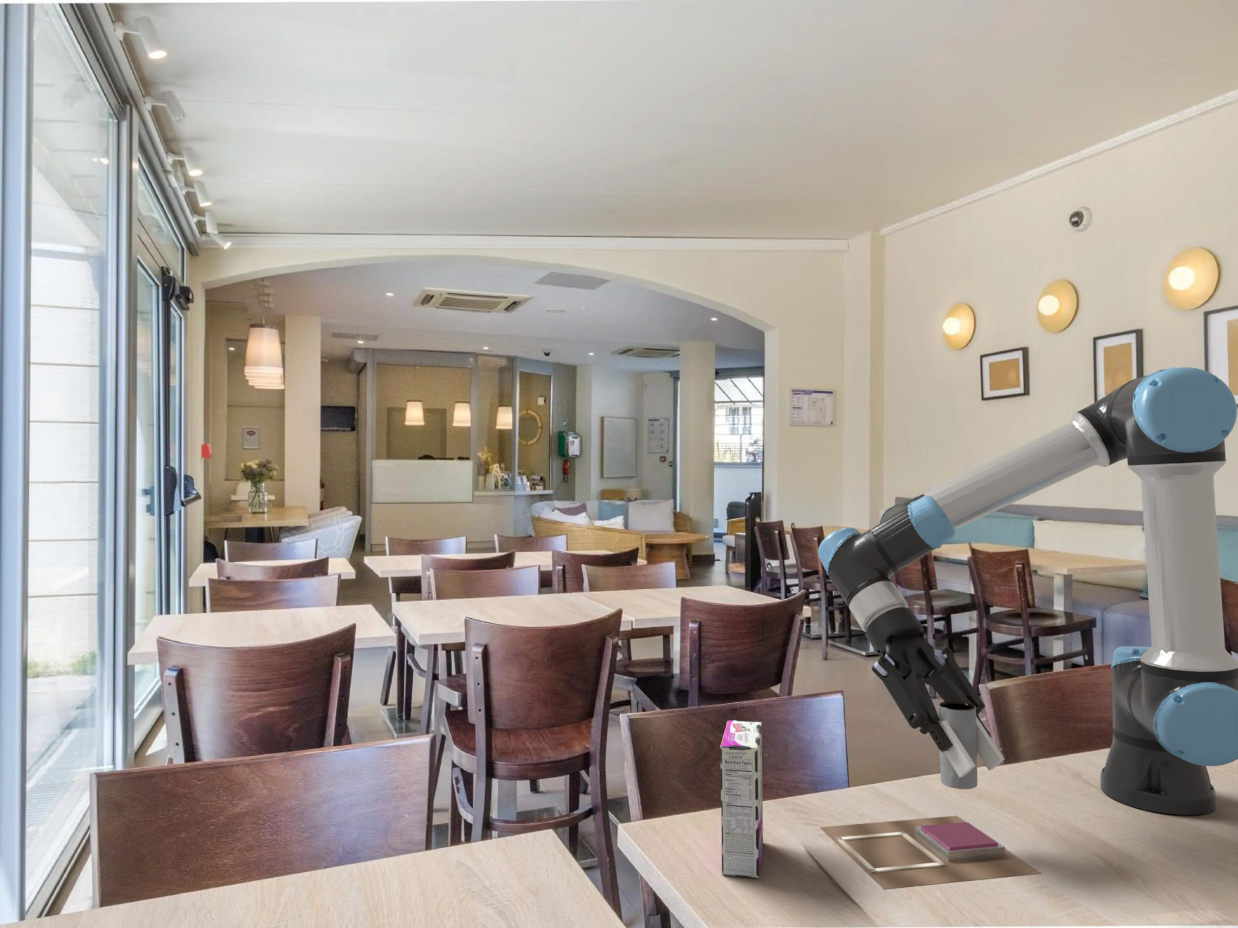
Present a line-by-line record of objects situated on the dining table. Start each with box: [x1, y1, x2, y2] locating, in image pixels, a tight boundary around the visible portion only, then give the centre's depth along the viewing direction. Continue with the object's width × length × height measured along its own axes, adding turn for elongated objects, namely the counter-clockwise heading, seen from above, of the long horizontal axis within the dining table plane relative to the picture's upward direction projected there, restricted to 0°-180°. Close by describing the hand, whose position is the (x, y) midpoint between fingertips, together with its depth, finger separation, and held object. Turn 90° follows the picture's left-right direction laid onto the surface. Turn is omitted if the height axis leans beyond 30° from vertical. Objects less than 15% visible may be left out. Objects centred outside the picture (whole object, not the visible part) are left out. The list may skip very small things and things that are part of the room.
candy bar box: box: [719, 720, 764, 879], centre depth 112 cm, size 11×5×16 cm, turn 168°
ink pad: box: [915, 821, 1006, 862], centre depth 114 cm, size 8×8×2 cm
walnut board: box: [819, 815, 1043, 890], centre depth 113 cm, size 21×18×1 cm
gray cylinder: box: [938, 701, 978, 790], centre depth 114 cm, size 4×4×10 cm
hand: (982, 767), depth 110 cm, fingers closed on gray cylinder, 4 cm apart
